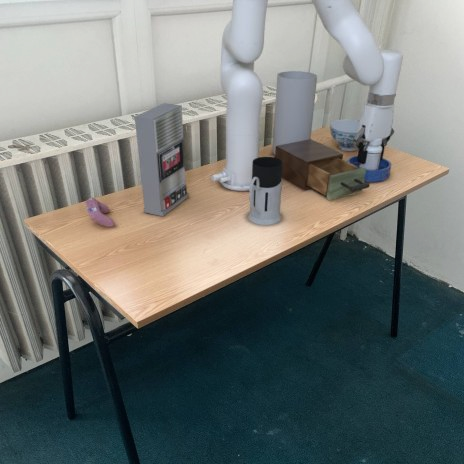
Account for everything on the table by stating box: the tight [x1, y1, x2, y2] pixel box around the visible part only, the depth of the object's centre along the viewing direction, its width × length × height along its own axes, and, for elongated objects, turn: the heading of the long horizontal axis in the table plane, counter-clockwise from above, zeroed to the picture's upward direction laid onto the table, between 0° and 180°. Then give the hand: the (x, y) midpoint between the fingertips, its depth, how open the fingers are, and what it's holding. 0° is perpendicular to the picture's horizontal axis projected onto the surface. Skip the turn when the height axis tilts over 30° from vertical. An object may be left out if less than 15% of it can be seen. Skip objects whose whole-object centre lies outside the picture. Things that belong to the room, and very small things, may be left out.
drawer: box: [307, 158, 371, 201], centre depth 139 cm, size 20×12×7 cm, turn 31°
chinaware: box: [329, 119, 365, 152], centre depth 171 cm, size 15×15×8 cm
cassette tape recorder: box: [134, 102, 189, 217], centre depth 126 cm, size 14×6×25 cm, turn 155°
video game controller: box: [84, 197, 115, 228], centre depth 124 cm, size 10×5×7 cm, turn 21°
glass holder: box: [247, 156, 283, 226], centre depth 122 cm, size 9×14×15 cm, turn 154°
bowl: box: [346, 154, 393, 183], centre depth 152 cm, size 13×13×4 cm
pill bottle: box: [358, 138, 383, 170], centre depth 149 cm, size 6×6×11 cm
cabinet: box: [274, 138, 344, 191], centre depth 148 cm, size 16×14×9 cm
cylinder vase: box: [272, 70, 318, 156], centre depth 160 cm, size 12×12×25 cm
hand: (369, 159), depth 150 cm, fingers closed on pill bottle, 6 cm apart
